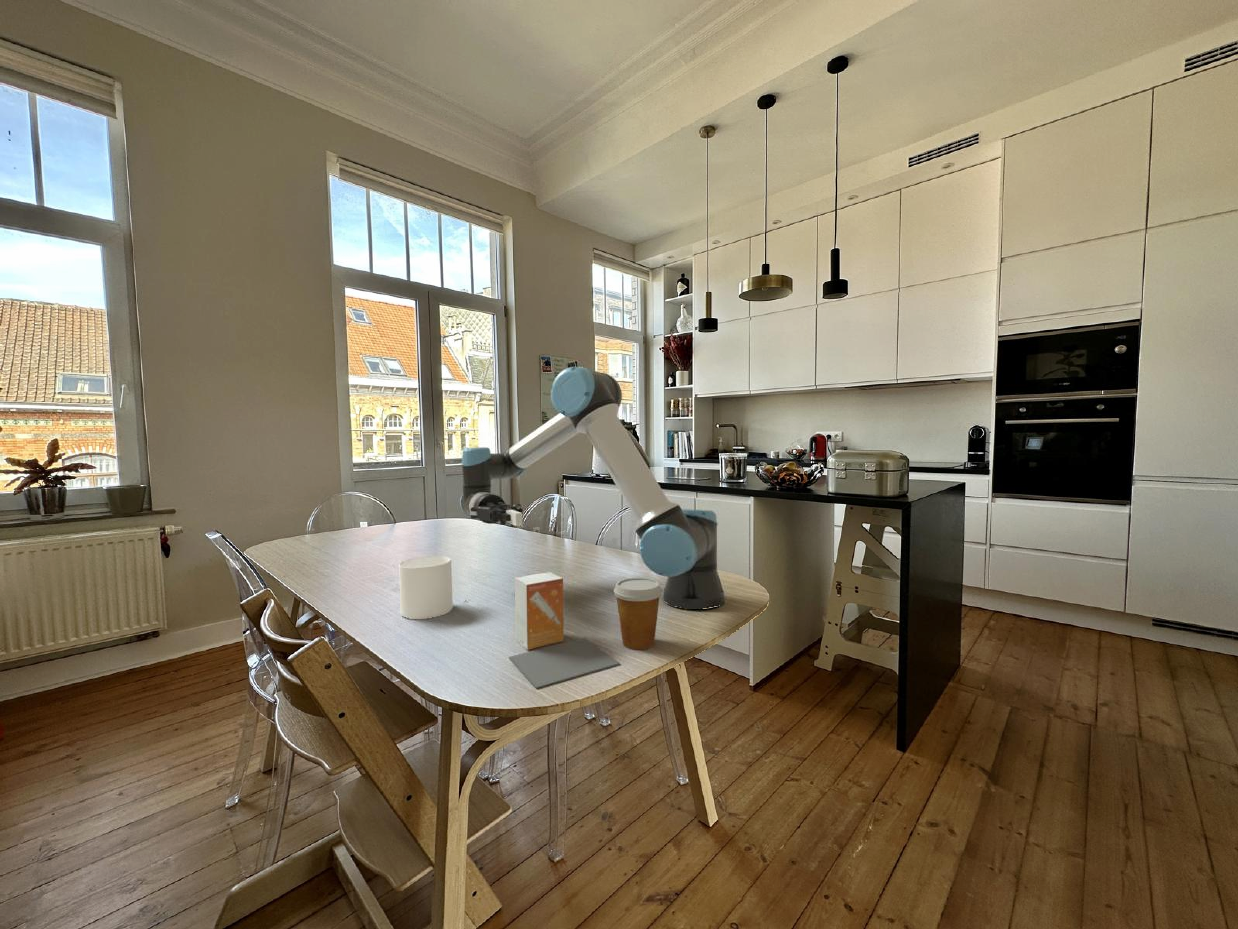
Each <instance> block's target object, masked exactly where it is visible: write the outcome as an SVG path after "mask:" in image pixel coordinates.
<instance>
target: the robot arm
mask: <svg viewBox="0 0 1238 929" xmlns="http://www.w3.org/2000/svg"><path fill="white" fill-rule="evenodd" d="M622 399H623V393H622V388H621V385H620V384H619V382H618V381H617V380H616V379H615V378H614V377H613V376H611V375H610V374H608V373H605V372H600V371H596V370H593V369H590V368H586V367H584V366H570V367H566V368H565V369H563V370H562V371H560V372H559V373H558V375H556V377H555V379H554V380H553V382H552V386H551V390H550V400H551V403H552V406H553V408H554V409H555V411H557V412H558V413H557V414H556V415H554V416H553V417H551V418H550V419H549V420H548V421H546V422H545V423H543V424H542V425H540V426H539V427H538V428H536V429H535V430H533V431H532V432H530V433H529V434H527V435H526V436H525V437H523V438H521V439H520V440H519V441H517V442H516V443H515V444H513V445H512V446H511V447H509V448H508V449H507V450H505V451H503V452H501V453H499V452H498V453H491V449H490V448H489V447H486V446H485V447H484V446H483V447H465V448H463V450H462V454H461V455H462V456H461V465H462V472H461V473H462V494H461V496H460V498H459V505H460V508H461V511H463V513H465V514H466V515H467V516H469V517H470V519H472V520H473V519H475V520H479V521H480V522H482V523H484V524H488V525H492V524H496V523H498V522H500V525H502V526H503V525H506V524H507V523H508V524H510V525H513V526H515V527H519V526H523V517H524V515H523V514H524V513H523V512H524V511H523V508H522V504H521V503H517V504H513V505H512V506H511V505H510V504H506V502H505V500H504V499H503V498H502V497H501V496H499V495H497V494H494V493H492V481H494V480H502V479H503V480H504V479H515V478H517V477H518V478H519V477H520V476H523V475H524V474H525V472H526V470H527V468H528V467H529V466H531V465H532V464H533V463H535V462H537V461H538V460H540V459H542V458H543V457H545V456H546V455H547V454H550V452H552V451H554V450H555V449H557V448H558V447H560V446H561V445H563V444H565V443H566V442H568V440H570V439H572V438H574V437H575V436H577V435H578V434H580V433H581V434H584V435H586V437H587V438H588V440H589V441H590V443H591V444H592V446H593V448H594V450H595V452H596V454H597V455H598V457H599V459H600V460H601V462H602V464H603V466H604V467H605V469H606V470H607V472H608V474H609V476H610V477H611V478H612V480H613V483H614V484H615V486H616V488H617V489H618V490H619V493H620V494H621V496H622V498H623V500H624V501H625V502H626V504H627V506H628V508H629V510H630V511H631V513H632V515H633V516H634V518H635V519H636V524H635V528H634V531H635V534H636V535H637V536H638V539H639V540H640V542H639V553H640V554H639V555H640V558H641V559H642V562H643V563H644V564H645V566H646V567H647V568H648V570H650V571H651V572H653V573H655V574H657V576H662V577H666V578H667V579H666V583H665V587H664V588H663V593H662V594H663V599H664V600H663V602H664V601H665V602H667V603H668V604H670V605H672V606H677V607H681V608H687V609H703V608H709V607H714V606H719V605H721V604H722V603H723V602H724V603H725V591H724V589H723V586H722V581H721V579H720V576H719V572H718V522H717V521H718V520H717V514H716V512H715V511H713V510H709V509H707V510H706V509H690V508H688V509H686V508H681V505H680V504H679V503H676V502H673V501H672V502H671V501H670V500H669V499H668V498H667V495H666V494H665V493H664V491H663V489H662V488H661V485H660V484H659V482H658V481H657V479H656V478H655V476H654V475H653V473H652V471H651V470H650V469H651V468H649V466H648V465H647V463H646V461H645V460H644V458H643V456H642V454H641V453H640V451H639V450H638V448H637V446H636V445H635V443H634V441H633V440H632V438H631V436H630V435H629V433H628V432H627V430H626V428H625V426H624V425H623V423H622V422H621V420H620V419H619V417H618V412H619V409H620V406H621V404H622ZM665 602H664V603H665ZM668 604H667V605H668ZM670 605H669V606H670ZM672 606H671V607H672ZM721 606H722V605H721ZM719 607H720V606H719ZM687 609H686V610H687Z"/></svg>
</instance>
